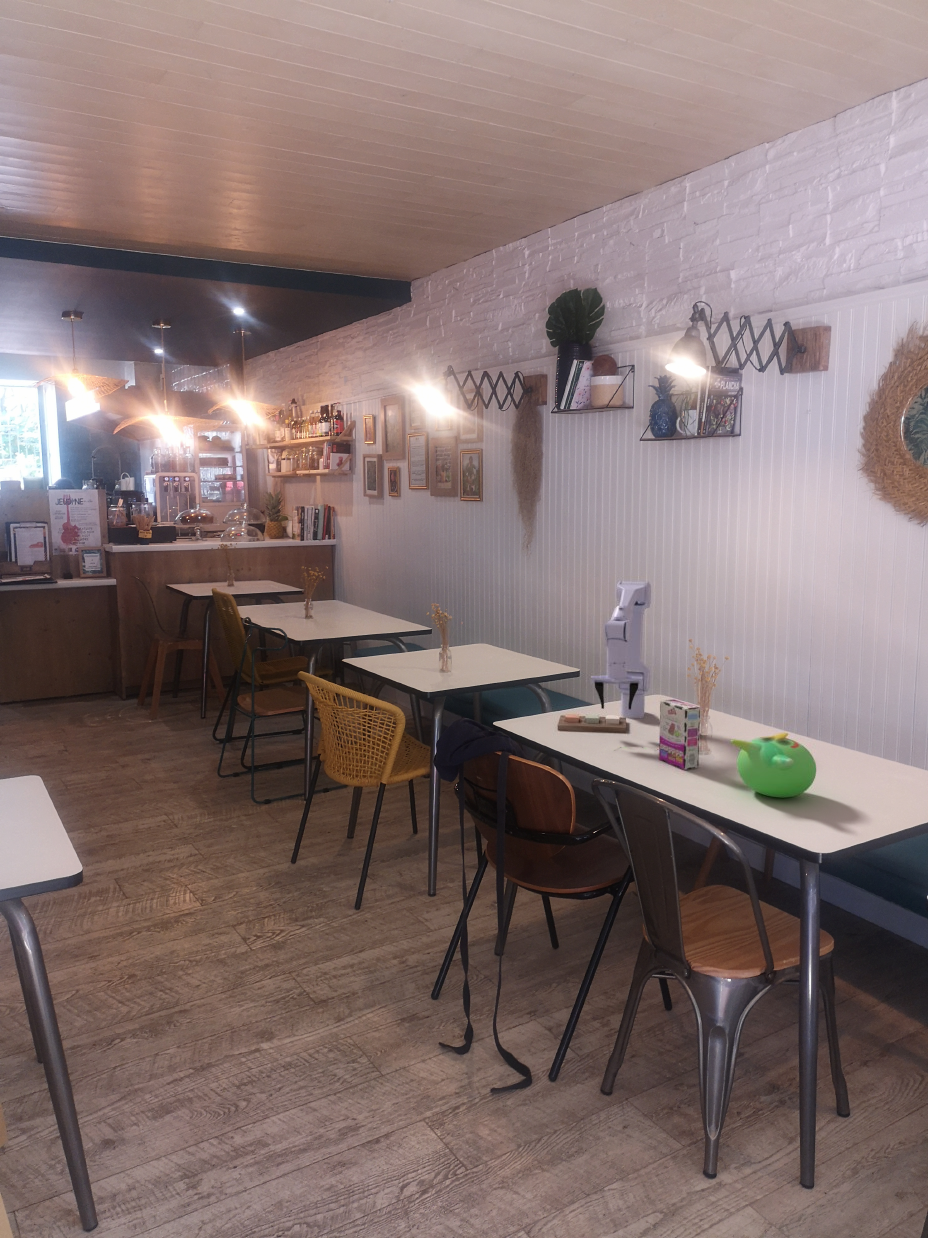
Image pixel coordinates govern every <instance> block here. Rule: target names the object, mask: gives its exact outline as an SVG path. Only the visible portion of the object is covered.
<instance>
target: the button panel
mask: <svg viewBox="0 0 928 1238" xmlns="http://www.w3.org/2000/svg"><path fill="white" fill-rule="evenodd" d="M565 716H566V714H565V715H564V714H563V715H562V714H560V717H559V720H558V722H557V731H566V732H567V731H569V732H570V731H571V732H592V733H593V732H597V733H620V734H621V733H624V734H625V733H627V718H626V717H623V716H619V724H606V716H599V723H585V717H586V715H579V723H572V722H565Z"/></svg>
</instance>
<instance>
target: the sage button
mask: <svg viewBox="0 0 928 1238" xmlns="http://www.w3.org/2000/svg"><path fill="white" fill-rule="evenodd" d="M585 716H586V717H585V723H599V717H600V714H585Z"/></svg>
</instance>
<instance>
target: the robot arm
mask: <svg viewBox="0 0 928 1238" xmlns="http://www.w3.org/2000/svg"><path fill="white" fill-rule="evenodd" d="M615 592H616V593H615V594H616V599H617V601H618V603H619V605H617V606H616V607H614V610H613V612H612V615H611V618H610V620H608V621H606V622H605V624H604V639H605V647H606V675H591V676H590V684H591V685H594V687H595V690H596V693H597V695H598V697H599V701H600V706H601V707H600V708H601V709H602V710H603V709H605V699H604V690H605V689H604V687H605V685H606V684H608V685H609V684H610V685H611V684H615V687H616V689H617V690H618V691H619V694H621V695H620V696H621V700H620V701H621V703H620V715H621V716H620V717H626V719H642V718H644V717H645V706H646V703H645V698H646V697H645V694H646V693H647V692H648V691H649V690H650V686H651V675H650V673H651V672H650V670H651V669H650V667H649V666H647V664H645V663H644V662H643V661H642V647H643V645H642V644H643V627H644V625H643V624H644V623H643V622H644V613H645V610H646V609H648V608H649V609H650V608H651V603H652V601H651V600H652V585H651V583H650V582H649V581H623V580H620V581H618V582H617V585H616V591H615Z"/></svg>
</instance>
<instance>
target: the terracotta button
mask: <svg viewBox="0 0 928 1238" xmlns="http://www.w3.org/2000/svg"><path fill="white" fill-rule="evenodd" d="M565 715H566V716H565V722H572V723H579V716H580V714H577V713H566V714H565Z"/></svg>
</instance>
